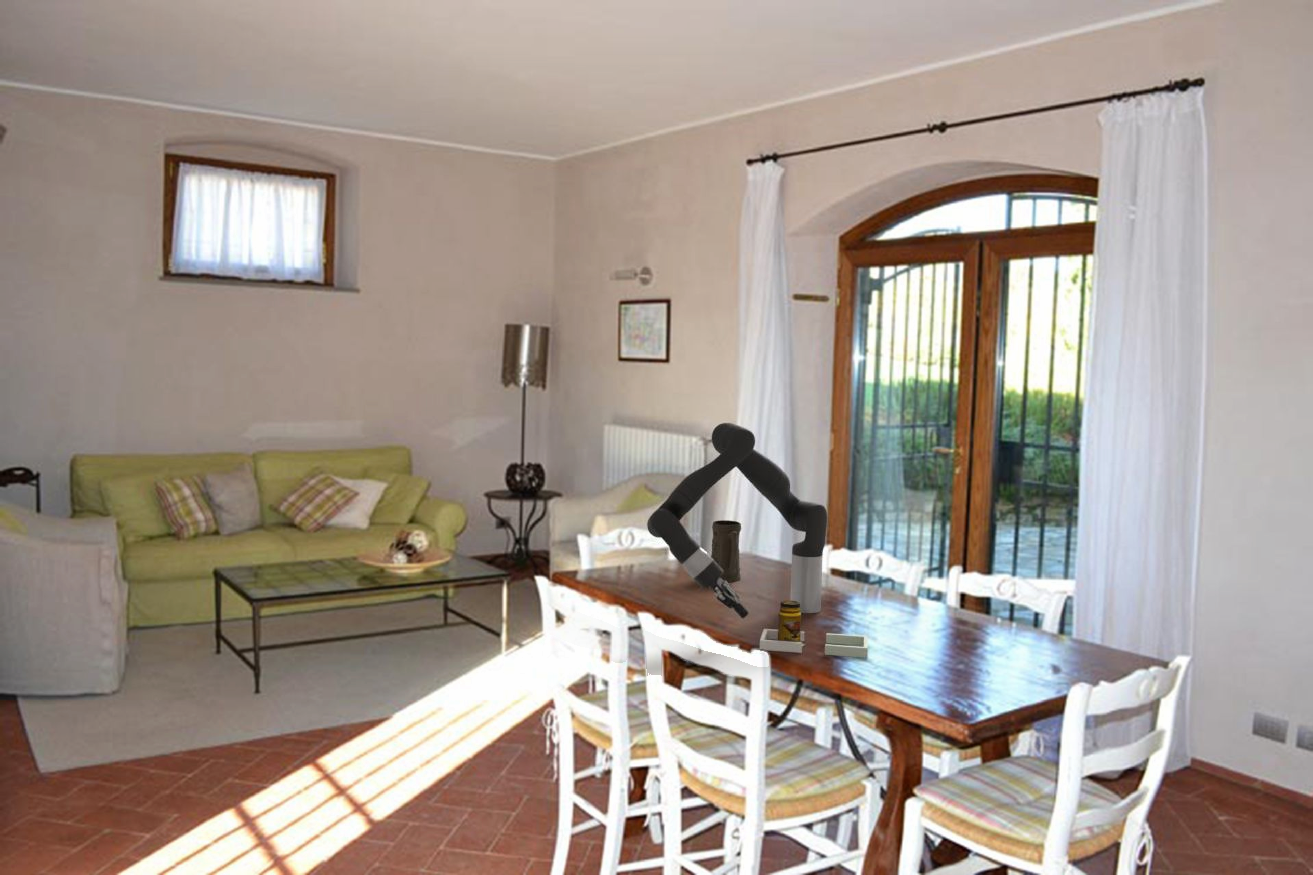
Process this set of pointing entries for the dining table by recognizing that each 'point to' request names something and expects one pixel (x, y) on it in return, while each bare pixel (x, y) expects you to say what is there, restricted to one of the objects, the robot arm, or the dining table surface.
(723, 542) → the beer stein
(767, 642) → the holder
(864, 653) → the white shallow tray
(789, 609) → the condiment
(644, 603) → the dining table surface
